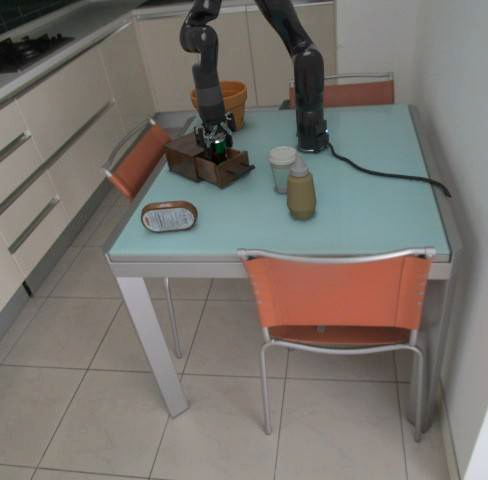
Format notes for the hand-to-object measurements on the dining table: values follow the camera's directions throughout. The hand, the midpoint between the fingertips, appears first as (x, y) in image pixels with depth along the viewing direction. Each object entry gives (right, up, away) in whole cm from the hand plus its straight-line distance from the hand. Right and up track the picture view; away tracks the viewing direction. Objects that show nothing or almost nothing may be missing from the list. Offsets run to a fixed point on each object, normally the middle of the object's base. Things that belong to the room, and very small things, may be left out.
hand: (219, 152), depth 142 cm
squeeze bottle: (+24, -20, -15) cm, 35 cm away
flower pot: (-3, +17, +39) cm, 42 cm away
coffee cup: (+20, -12, -3) cm, 23 cm away
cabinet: (-8, -3, +13) cm, 15 cm away
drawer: (+2, -7, +4) cm, 8 cm away
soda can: (0, -6, +5) cm, 7 cm away
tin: (-11, -24, -15) cm, 31 cm away
